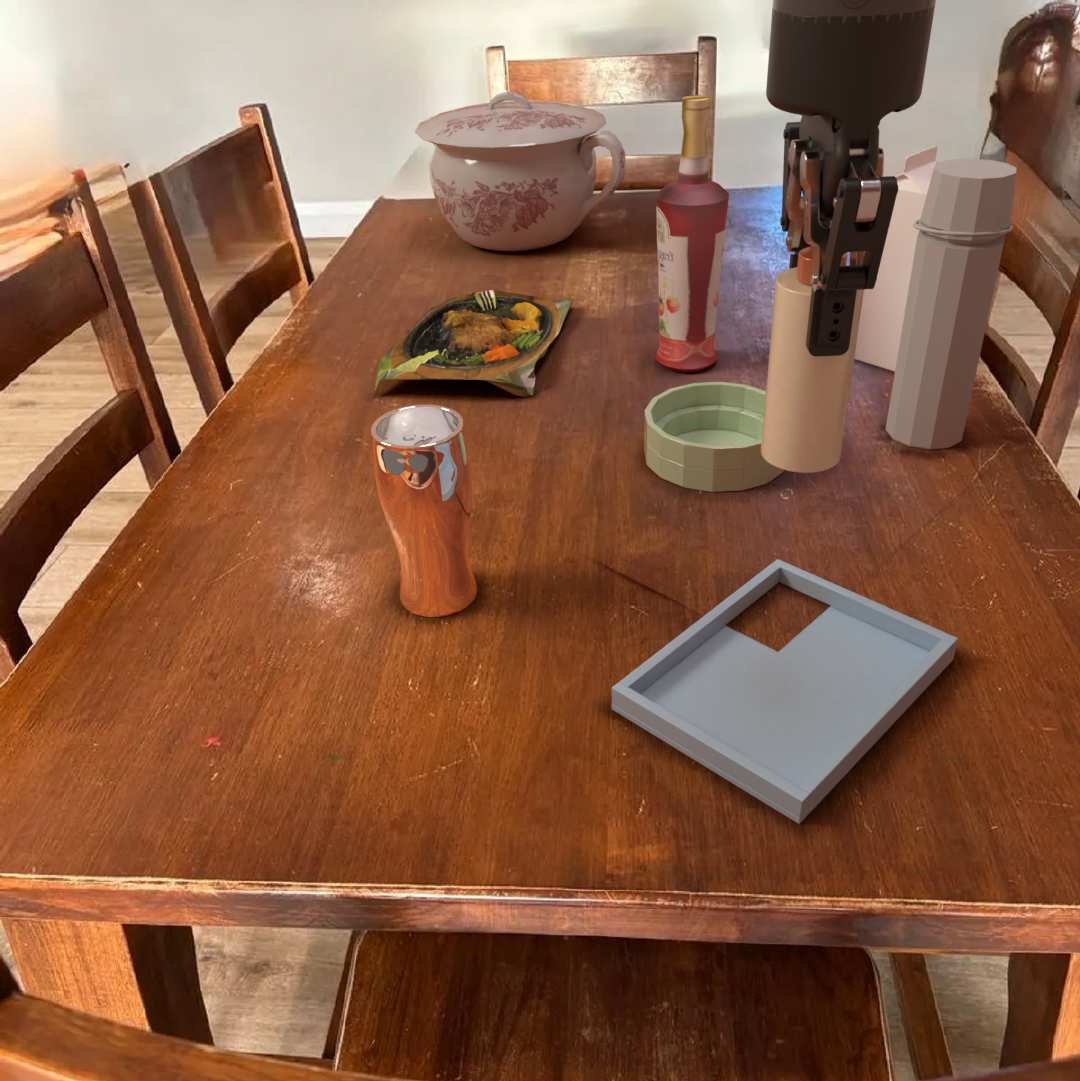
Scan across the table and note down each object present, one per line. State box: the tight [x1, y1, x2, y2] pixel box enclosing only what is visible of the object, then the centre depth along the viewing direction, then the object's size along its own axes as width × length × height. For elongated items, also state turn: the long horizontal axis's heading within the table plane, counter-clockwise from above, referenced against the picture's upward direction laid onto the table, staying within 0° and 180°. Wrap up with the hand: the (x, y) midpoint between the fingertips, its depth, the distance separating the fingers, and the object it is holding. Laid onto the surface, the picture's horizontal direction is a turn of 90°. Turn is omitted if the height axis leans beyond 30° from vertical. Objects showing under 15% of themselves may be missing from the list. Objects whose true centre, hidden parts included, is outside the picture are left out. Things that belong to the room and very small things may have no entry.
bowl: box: [643, 381, 785, 493], centre depth 94 cm, size 13×13×5 cm
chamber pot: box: [414, 91, 627, 253], centre depth 148 cm, size 28×28×21 cm
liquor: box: [654, 94, 730, 374], centre depth 105 cm, size 7×7×28 cm
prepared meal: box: [373, 289, 575, 398], centre depth 119 cm, size 28×4×18 cm
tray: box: [611, 558, 959, 825], centre depth 69 cm, size 20×15×2 cm
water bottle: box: [885, 158, 1018, 451], centre depth 91 cm, size 9×8×25 cm
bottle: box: [761, 247, 864, 474], centre depth 59 cm, size 5×5×12 cm
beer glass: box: [370, 403, 478, 618], centre depth 76 cm, size 7×7×15 cm
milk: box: [854, 145, 938, 373], centre depth 106 cm, size 6×6×22 cm
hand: (815, 332), depth 58 cm, fingers closed on bottle, 4 cm apart
